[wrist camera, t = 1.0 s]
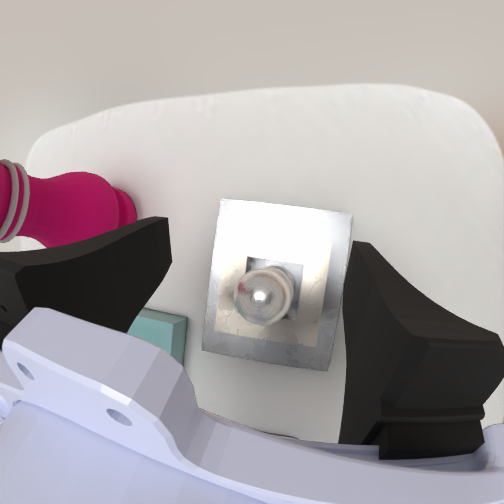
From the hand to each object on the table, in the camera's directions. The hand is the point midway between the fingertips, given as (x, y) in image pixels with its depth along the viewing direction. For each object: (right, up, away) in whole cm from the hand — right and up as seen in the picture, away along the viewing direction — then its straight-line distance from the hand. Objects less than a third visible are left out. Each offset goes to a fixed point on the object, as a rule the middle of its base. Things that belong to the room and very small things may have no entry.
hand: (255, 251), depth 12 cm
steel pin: (+2, -2, +11) cm, 12 cm away
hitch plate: (+2, -3, +12) cm, 13 cm away
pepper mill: (-13, +3, +15) cm, 20 cm away
